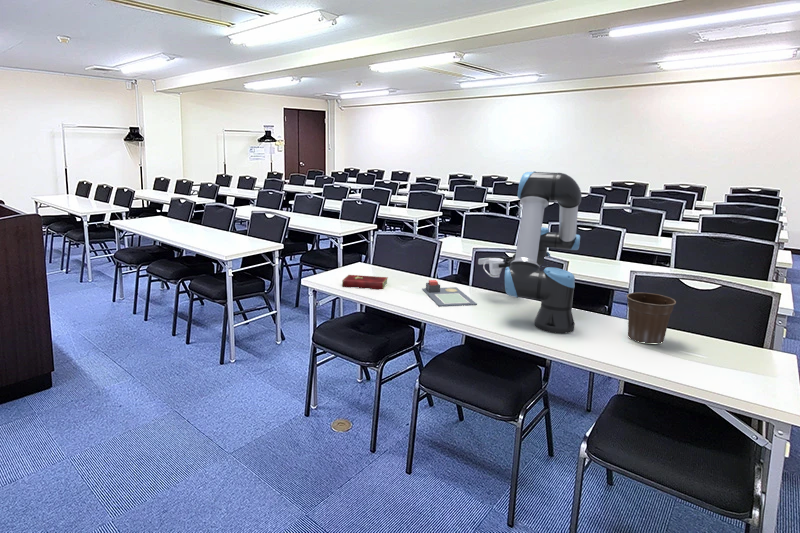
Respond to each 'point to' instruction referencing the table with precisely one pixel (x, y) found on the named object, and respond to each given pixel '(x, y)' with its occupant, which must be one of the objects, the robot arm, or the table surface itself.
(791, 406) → the table surface
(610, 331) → the table surface
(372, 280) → the hardcover book
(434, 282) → the button
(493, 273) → the cup
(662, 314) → the plant pot
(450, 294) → the picture board
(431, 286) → the button housing
